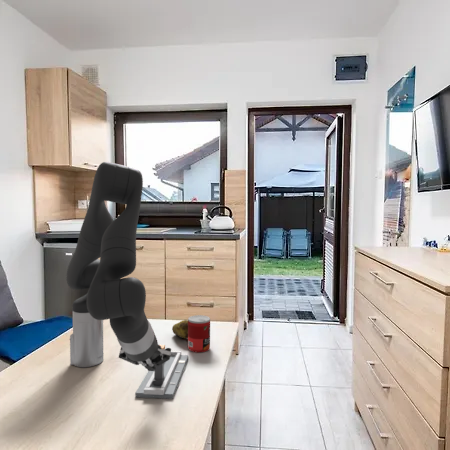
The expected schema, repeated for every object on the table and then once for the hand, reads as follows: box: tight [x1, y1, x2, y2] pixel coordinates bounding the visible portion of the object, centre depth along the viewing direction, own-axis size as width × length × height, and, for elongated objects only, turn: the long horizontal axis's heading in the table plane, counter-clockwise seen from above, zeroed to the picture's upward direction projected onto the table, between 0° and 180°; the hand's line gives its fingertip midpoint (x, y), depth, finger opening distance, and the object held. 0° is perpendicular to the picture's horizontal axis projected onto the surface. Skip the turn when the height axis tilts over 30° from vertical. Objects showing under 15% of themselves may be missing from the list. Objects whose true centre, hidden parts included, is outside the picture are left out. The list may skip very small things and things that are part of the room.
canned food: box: [187, 314, 211, 353], centre depth 126 cm, size 8×8×11 cm
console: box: [134, 350, 189, 399], centre depth 105 cm, size 10×26×2 cm, turn 177°
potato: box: [171, 319, 188, 340], centre depth 135 cm, size 8×13×8 cm, turn 15°
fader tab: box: [153, 344, 166, 385], centre depth 98 cm, size 3×3×10 cm
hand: (152, 367), depth 90 cm, fingers closed
